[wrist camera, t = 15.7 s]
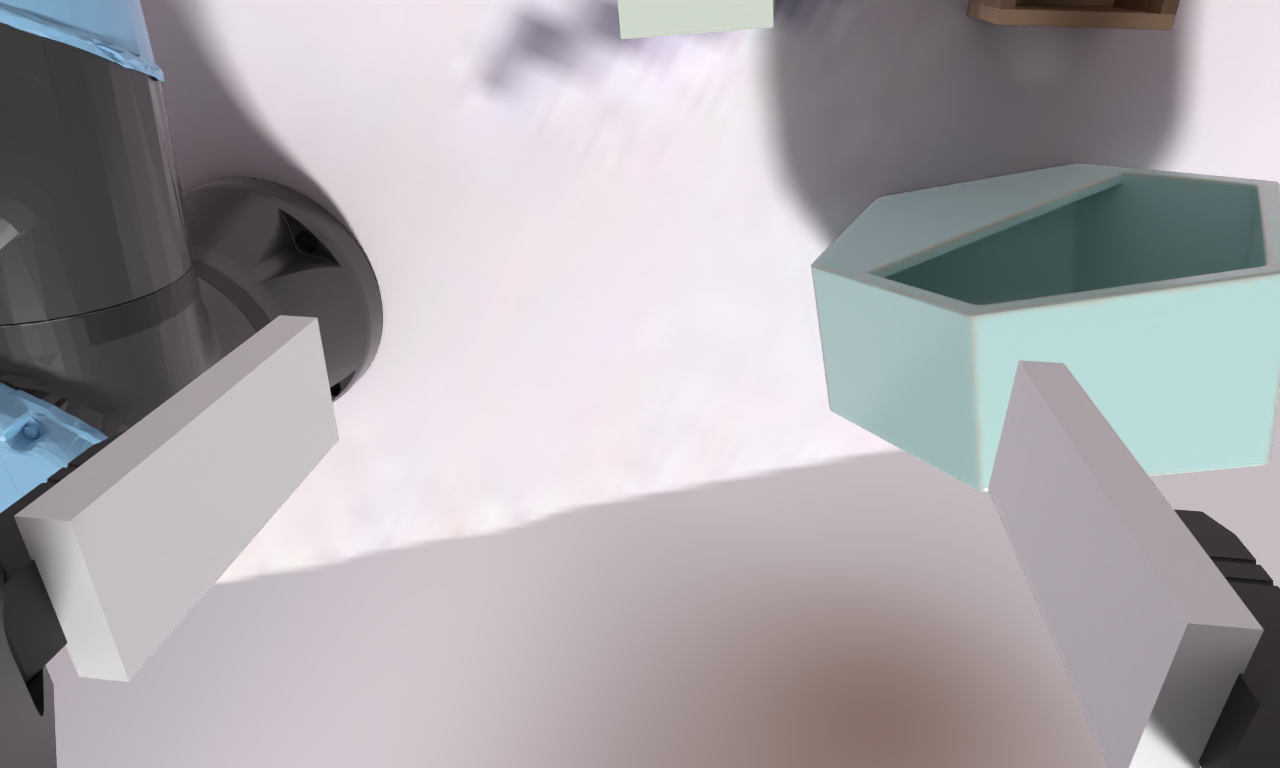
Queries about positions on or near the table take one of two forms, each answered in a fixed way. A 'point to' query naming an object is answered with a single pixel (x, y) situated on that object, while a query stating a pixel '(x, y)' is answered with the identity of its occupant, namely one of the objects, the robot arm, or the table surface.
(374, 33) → the table surface
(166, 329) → the robot arm
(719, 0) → the pale green block
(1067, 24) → the walnut box
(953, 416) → the planter
